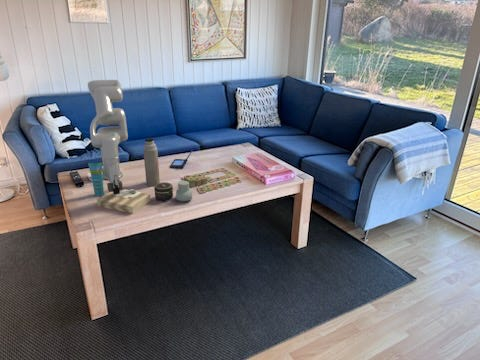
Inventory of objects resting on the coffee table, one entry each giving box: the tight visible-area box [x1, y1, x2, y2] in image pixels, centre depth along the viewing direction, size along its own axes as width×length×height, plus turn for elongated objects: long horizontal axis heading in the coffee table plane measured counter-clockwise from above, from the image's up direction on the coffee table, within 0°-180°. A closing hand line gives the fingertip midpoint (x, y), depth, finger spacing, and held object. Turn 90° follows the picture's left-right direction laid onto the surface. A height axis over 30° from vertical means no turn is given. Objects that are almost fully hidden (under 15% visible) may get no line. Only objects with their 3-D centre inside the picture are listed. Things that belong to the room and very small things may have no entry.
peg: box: [106, 180, 135, 196], centre depth 199 cm, size 13×2×7 cm, turn 119°
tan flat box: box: [96, 188, 151, 214], centre depth 199 cm, size 22×17×4 cm
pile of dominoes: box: [180, 167, 243, 195], centre depth 230 cm, size 35×27×6 cm
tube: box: [87, 162, 105, 197], centre depth 205 cm, size 7×5×19 cm, turn 103°
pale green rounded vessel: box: [175, 180, 193, 202], centre depth 203 cm, size 11×8×10 cm
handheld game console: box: [169, 149, 193, 170], centre depth 253 cm, size 16×13×9 cm
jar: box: [153, 182, 174, 202], centre depth 205 cm, size 10×10×8 cm
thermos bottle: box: [143, 137, 161, 187], centre depth 219 cm, size 8×8×28 cm
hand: (115, 191), depth 198 cm, fingers open, 4 cm apart
